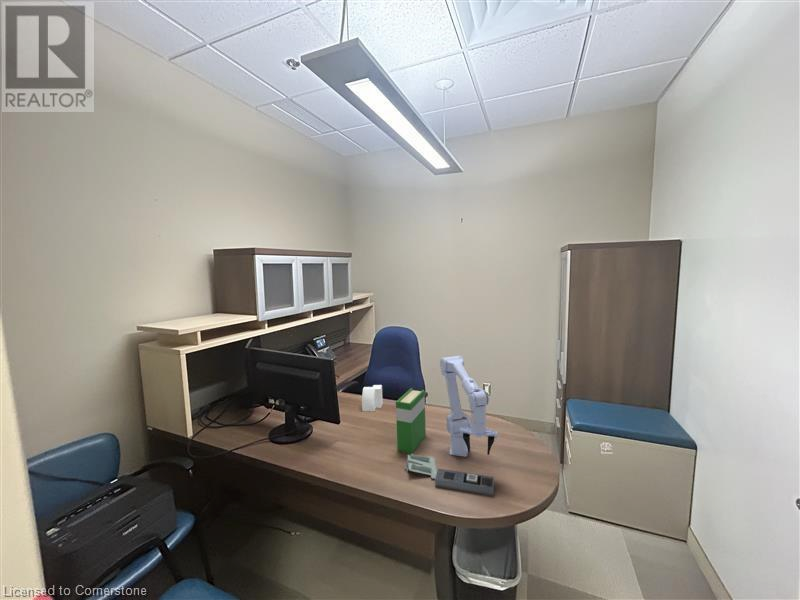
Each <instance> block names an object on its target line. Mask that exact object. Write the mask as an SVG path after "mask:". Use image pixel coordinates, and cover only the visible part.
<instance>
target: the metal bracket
mask: <svg viewBox="0 0 800 600" xmlns="http://www.w3.org/2000/svg"><path fill="white" fill-rule="evenodd" d="M404 470H406V473H408V472H409V471H410V472H414V473H418V474H423V475H428V476H430V478H431V479H432V480H435V478H436V474H437V471H438V469H437V466H436V459H435V457H432V456H429V455H428V456H424V455H416V454H414V453H412V454H407V459H406V466H404Z"/></svg>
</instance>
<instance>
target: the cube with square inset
mask: <svg viewBox="0 0 800 600" xmlns="http://www.w3.org/2000/svg"><path fill="white" fill-rule="evenodd" d="M466 473H467V479H466V481H465V483H469V484H475V485H479V483H478V475H479V474H477V475H475V474H476V473H471V474H468V472H466Z"/></svg>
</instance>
